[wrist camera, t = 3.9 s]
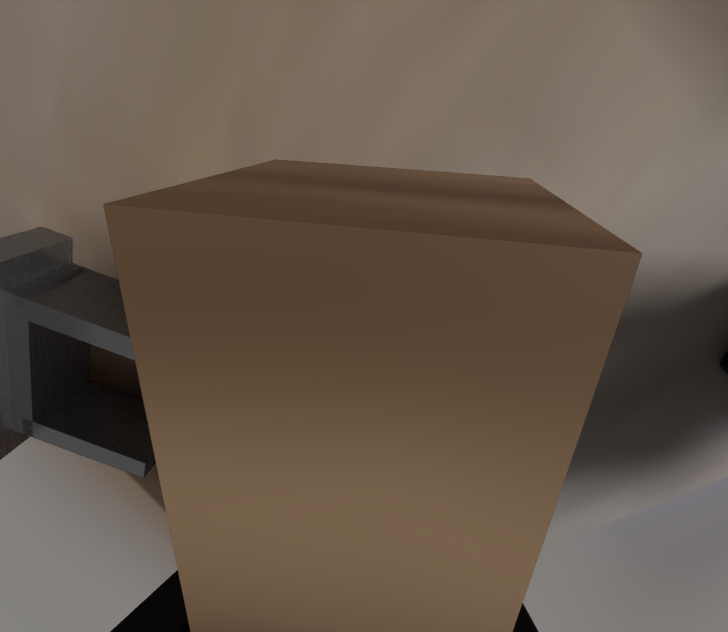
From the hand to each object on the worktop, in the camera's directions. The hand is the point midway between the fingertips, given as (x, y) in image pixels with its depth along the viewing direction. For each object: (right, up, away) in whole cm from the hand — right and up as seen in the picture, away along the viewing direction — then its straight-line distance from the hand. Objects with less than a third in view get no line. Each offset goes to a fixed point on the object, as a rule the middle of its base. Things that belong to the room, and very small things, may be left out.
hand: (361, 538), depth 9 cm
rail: (0, 0, +1) cm, 1 cm away
